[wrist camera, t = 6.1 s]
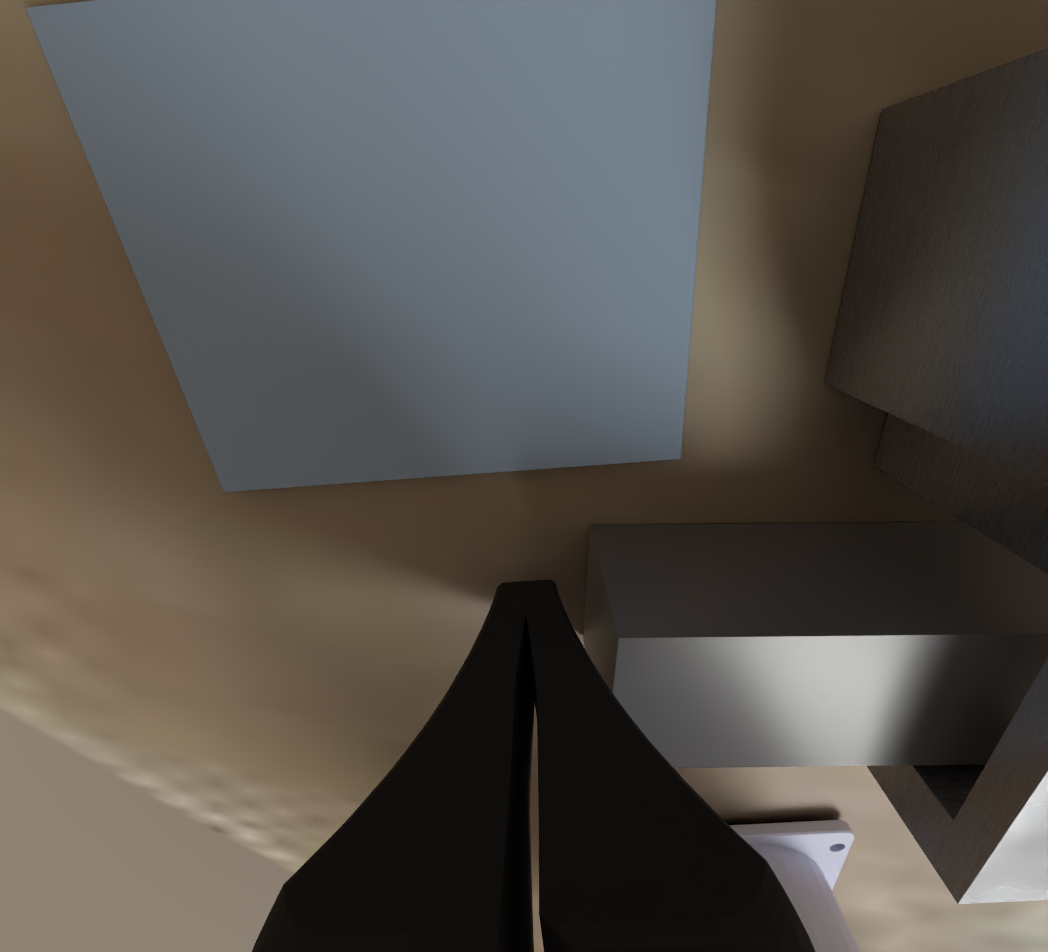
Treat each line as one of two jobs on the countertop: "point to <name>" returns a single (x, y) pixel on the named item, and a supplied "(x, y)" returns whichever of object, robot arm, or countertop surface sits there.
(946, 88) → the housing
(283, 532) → the countertop surface
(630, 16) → the mat
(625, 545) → the plug
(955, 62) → the countertop surface
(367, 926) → the robot arm
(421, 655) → the countertop surface
